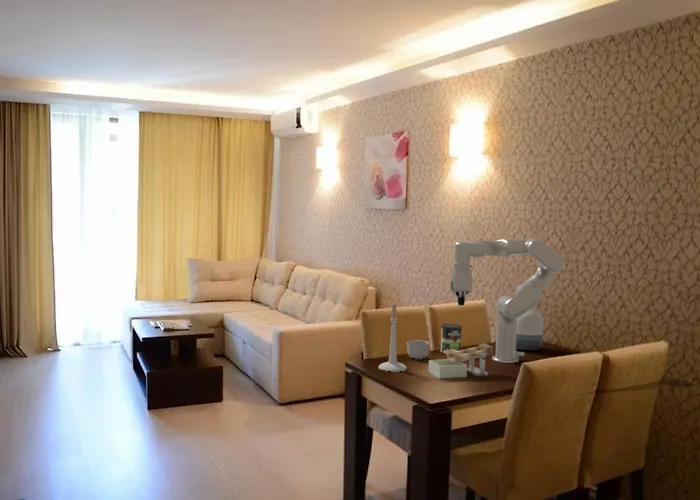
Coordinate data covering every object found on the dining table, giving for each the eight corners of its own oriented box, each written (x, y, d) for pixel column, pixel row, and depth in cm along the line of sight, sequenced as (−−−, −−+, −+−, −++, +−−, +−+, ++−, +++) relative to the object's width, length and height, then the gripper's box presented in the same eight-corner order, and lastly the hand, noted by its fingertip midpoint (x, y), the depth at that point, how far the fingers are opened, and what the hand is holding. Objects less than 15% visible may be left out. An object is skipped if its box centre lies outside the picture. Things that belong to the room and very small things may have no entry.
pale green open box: (454, 370, 266) (455, 358, 266) (466, 377, 255) (467, 364, 255) (428, 372, 262) (428, 360, 262) (439, 379, 252) (439, 366, 251)
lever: (476, 347, 275) (475, 339, 275) (493, 354, 261) (492, 346, 261) (439, 354, 270) (438, 347, 270) (454, 362, 255) (454, 355, 255)
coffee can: (464, 354, 298) (465, 327, 298) (445, 355, 296) (446, 327, 295) (455, 350, 308) (456, 323, 308) (437, 350, 306) (438, 323, 305)
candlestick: (411, 371, 264) (412, 304, 262) (384, 372, 260) (385, 305, 259) (400, 364, 276) (402, 300, 274) (374, 365, 272) (376, 301, 271)
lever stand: (476, 369, 269) (476, 349, 269) (489, 375, 259) (489, 355, 258) (464, 370, 268) (465, 350, 267) (477, 376, 257) (477, 356, 256)
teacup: (427, 361, 282) (428, 345, 282) (405, 360, 285) (405, 343, 284) (429, 355, 296) (430, 339, 296) (408, 353, 298) (408, 338, 298)
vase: (504, 345, 322) (506, 302, 321) (534, 345, 324) (535, 302, 322) (516, 352, 305) (518, 306, 304) (547, 352, 307) (549, 306, 306)
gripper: (471, 266, 290) (470, 303, 291) (444, 266, 286) (443, 304, 287) (479, 267, 283) (478, 305, 284) (451, 268, 279) (450, 306, 280)
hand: (461, 305), depth 285 cm, fingers closed
